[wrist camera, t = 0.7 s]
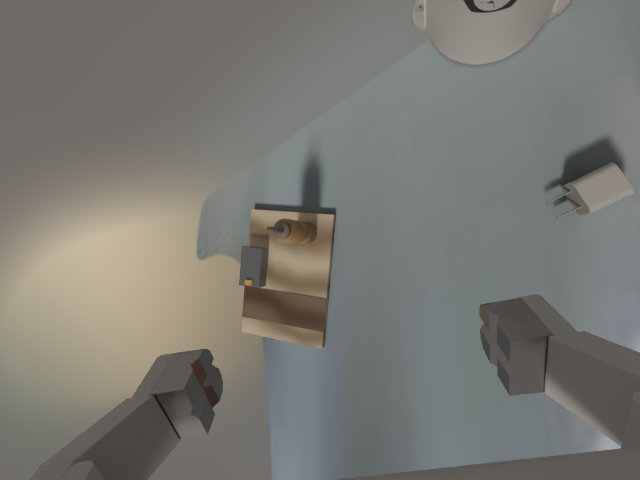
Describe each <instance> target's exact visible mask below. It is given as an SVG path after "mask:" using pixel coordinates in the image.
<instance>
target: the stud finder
mask: <svg viewBox="0 0 640 480" xmlns="http://www.w3.org/2000/svg"><path fill="white" fill-rule="evenodd" d="M268 254H269V248H260V247H251V246H242V256H241V269H240V280H239V285H244V286H250V287H257V288H260V287H264V286H266V278H267V266H268Z"/></svg>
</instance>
